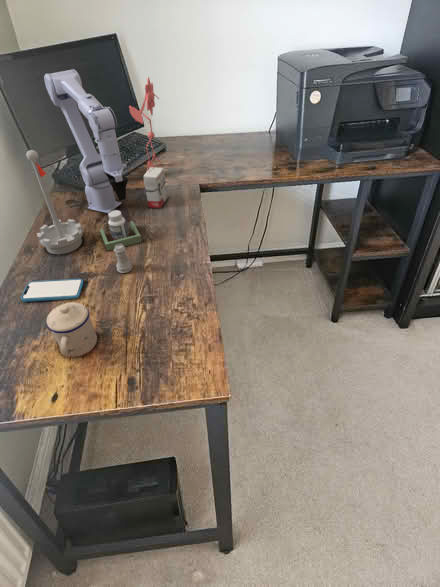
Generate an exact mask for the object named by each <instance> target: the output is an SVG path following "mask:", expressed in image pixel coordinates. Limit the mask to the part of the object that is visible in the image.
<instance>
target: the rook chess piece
mask: <svg viewBox="0 0 440 587" xmlns="http://www.w3.org/2000/svg"><path fill="white" fill-rule="evenodd" d="M114 247H115V248H114V249H113V251H114V252H115V256H116V258H117V262H116V265H115V266H116V271H117V272H118V273H120V274H128V273H130V272H131V271H132V270H133V265H132V262H131V261H130V260H129V259H128V257H127V255H126V254H127V252H126V249H127V248H126V246H124V245H123V244H122V245H121V244H120V245H118V244H117V245H116V246H114Z"/></svg>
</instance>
